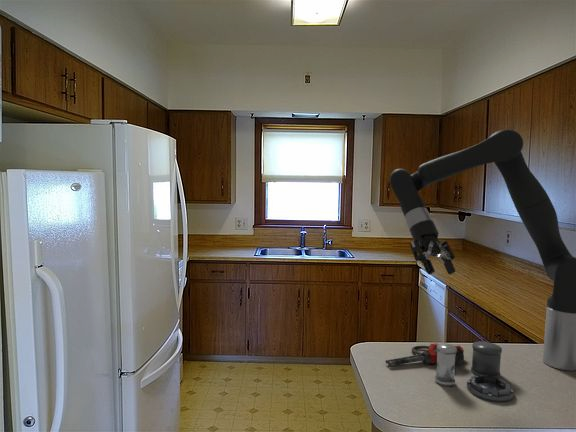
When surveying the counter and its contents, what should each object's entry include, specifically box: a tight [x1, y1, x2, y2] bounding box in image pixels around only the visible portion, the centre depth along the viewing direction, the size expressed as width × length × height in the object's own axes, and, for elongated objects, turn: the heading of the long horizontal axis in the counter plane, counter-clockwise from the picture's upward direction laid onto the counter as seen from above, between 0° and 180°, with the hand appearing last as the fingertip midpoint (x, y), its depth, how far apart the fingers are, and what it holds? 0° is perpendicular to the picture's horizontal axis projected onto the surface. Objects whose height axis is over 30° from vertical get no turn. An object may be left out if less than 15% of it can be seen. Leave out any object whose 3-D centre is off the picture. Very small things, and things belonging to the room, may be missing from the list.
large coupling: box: [470, 341, 503, 379], centre depth 118 cm, size 8×8×8 cm
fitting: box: [434, 342, 457, 387], centre depth 112 cm, size 5×5×10 cm
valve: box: [385, 342, 465, 369], centre depth 127 cm, size 6×26×15 cm
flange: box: [466, 374, 514, 403], centre depth 108 cm, size 11×11×2 cm
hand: (442, 273), depth 119 cm, fingers open, 8 cm apart
